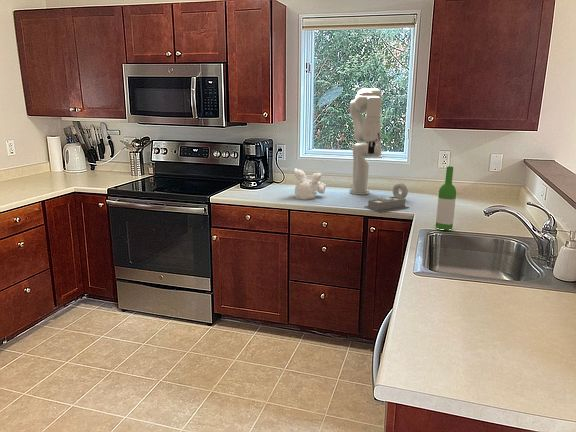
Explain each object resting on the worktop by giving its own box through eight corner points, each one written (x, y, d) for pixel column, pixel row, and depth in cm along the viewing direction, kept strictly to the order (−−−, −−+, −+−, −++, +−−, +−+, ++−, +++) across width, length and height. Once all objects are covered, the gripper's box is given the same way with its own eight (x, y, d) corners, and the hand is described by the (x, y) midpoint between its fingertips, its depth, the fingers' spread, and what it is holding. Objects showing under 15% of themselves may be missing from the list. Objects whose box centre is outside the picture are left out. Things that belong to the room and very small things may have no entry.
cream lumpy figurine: (287, 185, 281) (296, 162, 293) (290, 209, 295) (298, 186, 308) (319, 189, 276) (326, 166, 289) (320, 213, 291) (327, 190, 303)
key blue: (381, 203, 270) (381, 198, 269) (386, 202, 272) (387, 197, 272) (386, 205, 266) (387, 199, 266) (392, 204, 269) (393, 198, 268)
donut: (408, 200, 287) (409, 184, 285) (404, 201, 285) (406, 184, 283) (394, 197, 295) (395, 181, 292) (390, 198, 292) (392, 182, 290)
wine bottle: (433, 226, 234) (439, 165, 227) (450, 227, 234) (456, 165, 226) (436, 231, 227) (443, 167, 219) (453, 232, 226) (460, 168, 218)
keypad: (364, 207, 270) (364, 199, 269) (391, 202, 281) (391, 195, 280) (381, 212, 259) (382, 204, 258) (408, 208, 270) (409, 200, 268)
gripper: (358, 119, 269) (357, 152, 273) (377, 121, 256) (375, 155, 261) (369, 119, 272) (367, 151, 277) (387, 120, 260) (385, 154, 265)
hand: (371, 153), depth 269 cm, fingers closed
